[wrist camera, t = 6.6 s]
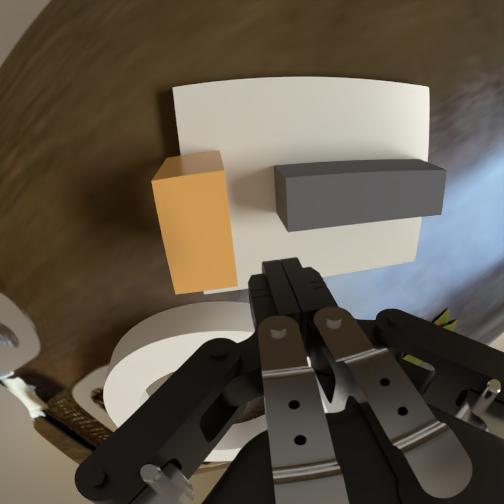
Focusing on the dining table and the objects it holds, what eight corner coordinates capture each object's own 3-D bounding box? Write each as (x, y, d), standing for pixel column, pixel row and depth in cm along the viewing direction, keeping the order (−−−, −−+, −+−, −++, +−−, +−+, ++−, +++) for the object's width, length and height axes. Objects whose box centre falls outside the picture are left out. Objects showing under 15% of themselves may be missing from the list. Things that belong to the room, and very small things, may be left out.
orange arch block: (166, 157, 22) (151, 180, 16) (219, 150, 23) (224, 170, 16) (181, 245, 26) (175, 294, 20) (229, 239, 26) (238, 286, 20)
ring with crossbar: (324, 275, 32) (341, 302, 27) (322, 416, 45) (330, 439, 41) (72, 321, 30) (59, 350, 26) (156, 443, 44) (155, 466, 39)
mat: (174, 88, 21) (172, 87, 20) (419, 86, 23) (428, 87, 22) (204, 285, 30) (204, 294, 28) (407, 254, 32) (414, 260, 30)
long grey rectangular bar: (273, 165, 24) (285, 177, 20) (419, 159, 25) (446, 170, 22) (276, 212, 26) (287, 232, 22) (416, 199, 27) (441, 214, 23)
